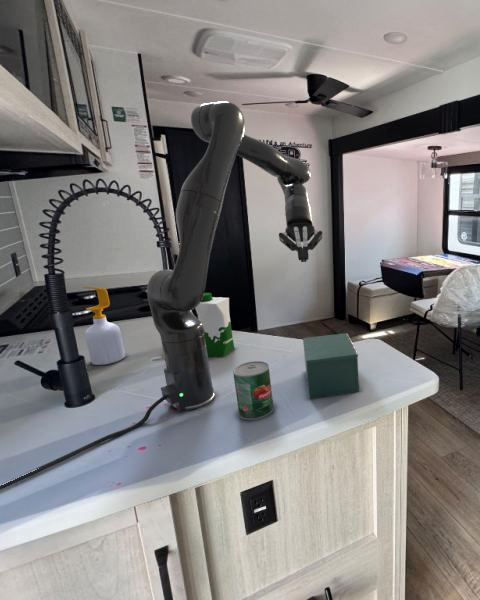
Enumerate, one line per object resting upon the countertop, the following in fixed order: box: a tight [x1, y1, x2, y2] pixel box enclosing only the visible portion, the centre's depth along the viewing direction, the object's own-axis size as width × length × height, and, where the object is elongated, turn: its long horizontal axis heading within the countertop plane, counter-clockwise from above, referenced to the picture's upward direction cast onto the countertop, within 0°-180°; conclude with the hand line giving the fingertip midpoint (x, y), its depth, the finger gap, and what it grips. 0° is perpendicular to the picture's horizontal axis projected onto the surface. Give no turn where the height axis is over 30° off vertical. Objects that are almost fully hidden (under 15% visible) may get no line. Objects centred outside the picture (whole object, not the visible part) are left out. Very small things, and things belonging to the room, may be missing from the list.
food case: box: [302, 342, 360, 399], centre depth 103 cm, size 16×13×10 cm
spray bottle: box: [82, 286, 126, 366], centre depth 121 cm, size 9×9×25 cm
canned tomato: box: [232, 360, 275, 421], centre depth 89 cm, size 8×8×11 cm
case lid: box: [302, 332, 359, 364], centre depth 101 cm, size 16×13×1 cm
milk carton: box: [194, 292, 235, 358], centre depth 125 cm, size 9×9×20 cm
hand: (303, 260), depth 107 cm, fingers closed
